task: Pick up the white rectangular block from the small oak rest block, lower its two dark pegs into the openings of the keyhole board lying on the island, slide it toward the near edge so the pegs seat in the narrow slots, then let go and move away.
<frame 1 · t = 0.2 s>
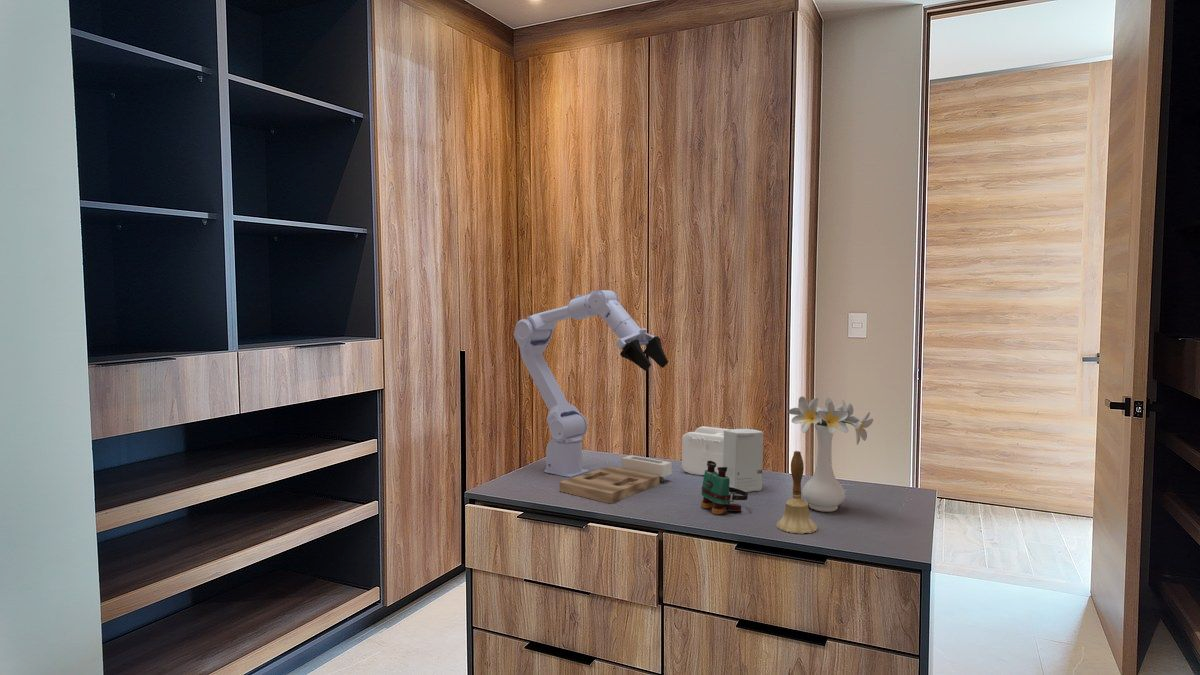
hand: (657, 366, 172), 31 cm above the table, tool tilted 45°, fingers open, 7 cm apart
keyhole board: (610, 488, 175), on the table
white rectangular block: (646, 478, 184), resting on rest block
flower vase: (826, 508, 160), on the table
hand bell: (796, 528, 147), on the table
binoculars: (723, 509, 159), on the table
white rounded box: (713, 474, 190), on the table
skincare box: (742, 490, 175), on the table
rest block: (646, 479, 184), on the table
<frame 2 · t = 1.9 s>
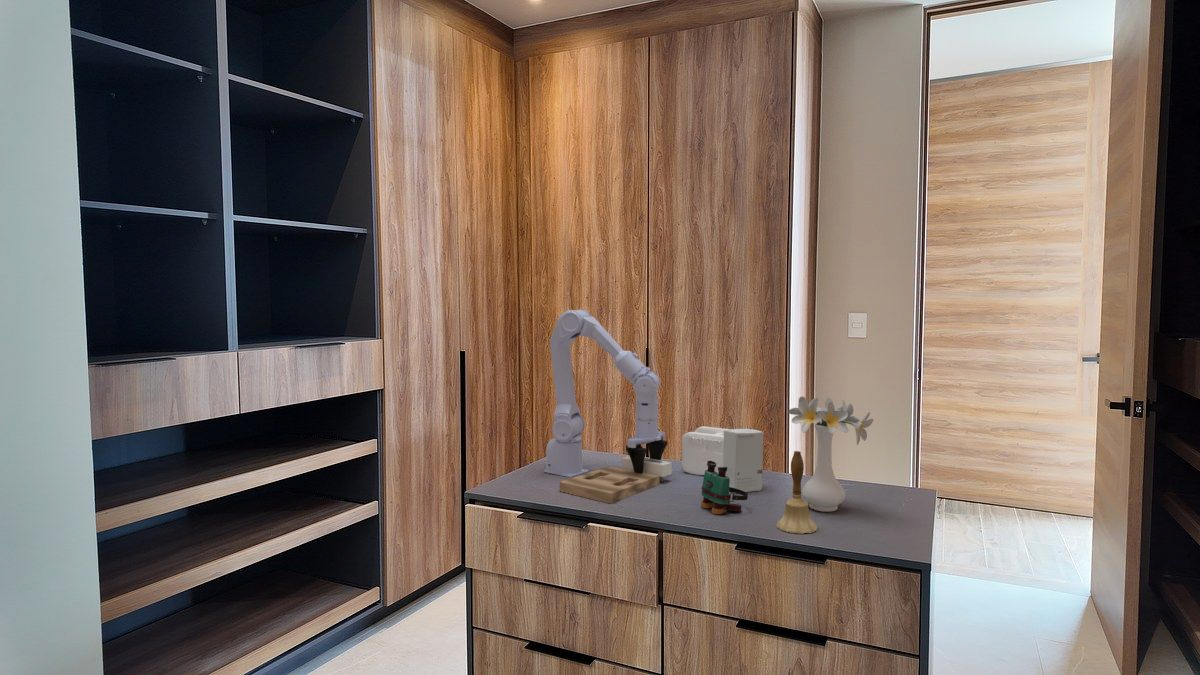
hand: (646, 470, 184), 2 cm above the table, tool pointing down, fingers open, 7 cm apart
nothing on the table moved.
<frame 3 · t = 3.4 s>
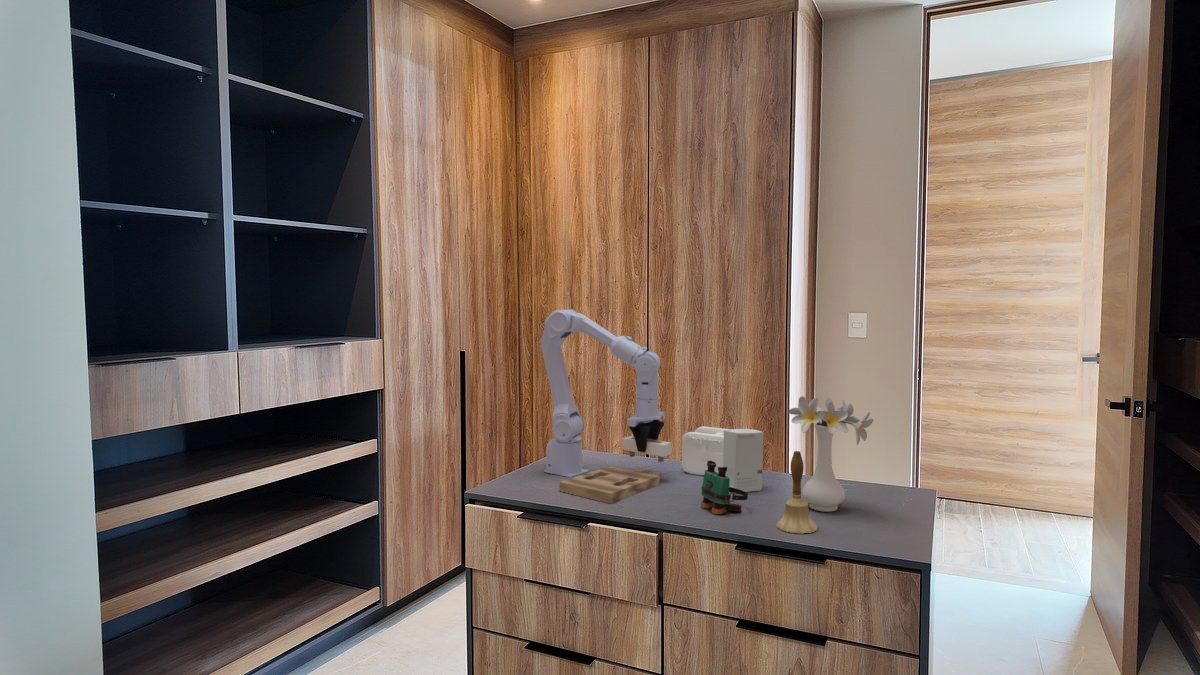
hand: (646, 450, 184), 8 cm above the table, tool pointing down, fingers closed on white rectangular block, 4 cm apart
white rectangular block: (646, 458, 184), point 5 cm above the table, touching gripper
everything else where it was.
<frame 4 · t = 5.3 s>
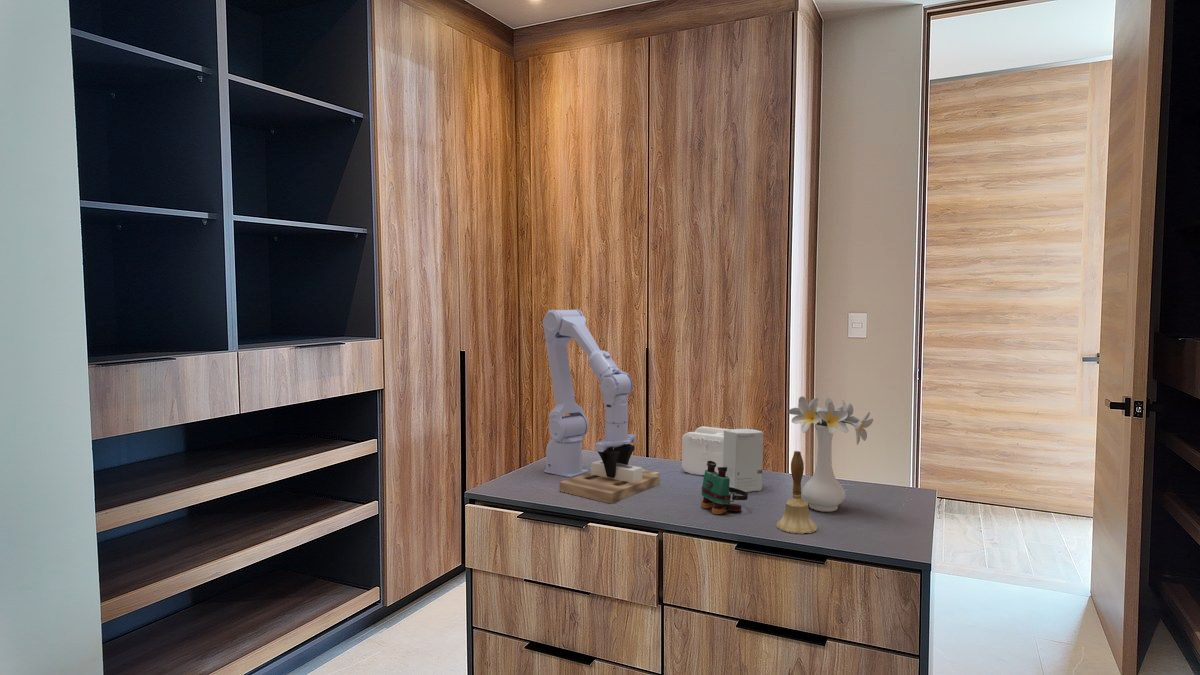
hand: (616, 475, 177), 3 cm above the table, tool pointing down, fingers closed on white rectangular block, 4 cm apart
white rectangular block: (616, 483, 177), point 1 cm above the table, touching gripper, keyhole board
everything else where it was.
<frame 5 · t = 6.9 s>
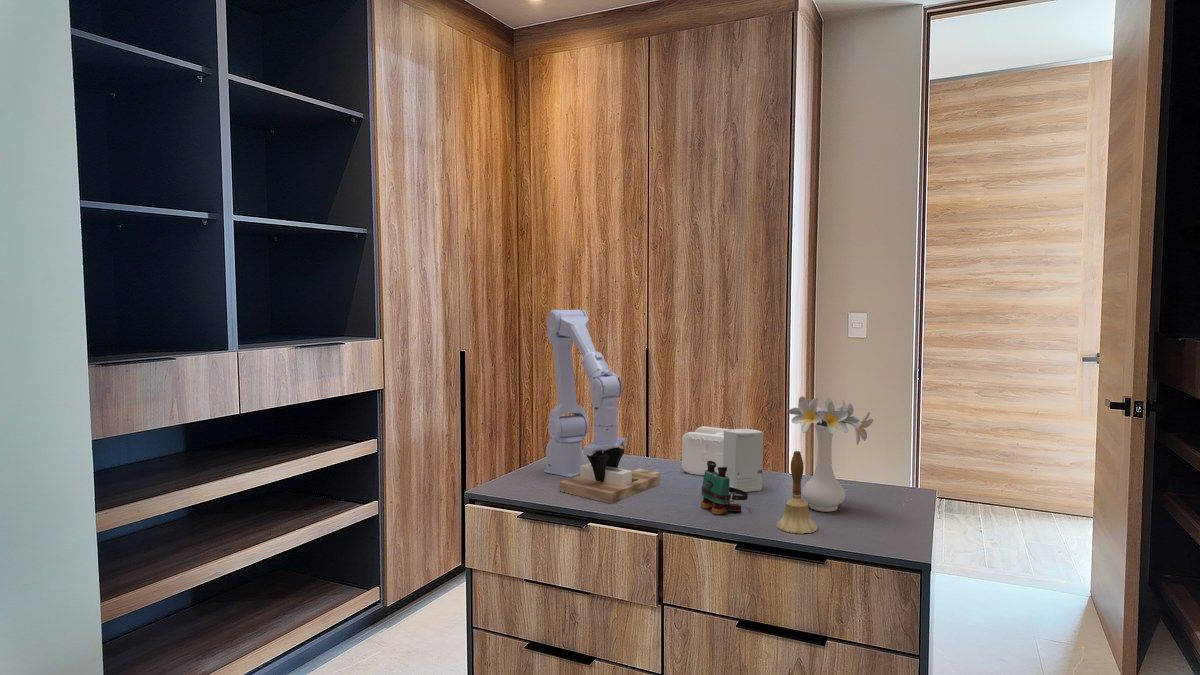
hand: (605, 479, 174), 3 cm above the table, tool pointing down, fingers closed on white rectangular block, 4 cm apart
white rectangular block: (605, 487, 174), point 1 cm above the table, touching gripper, keyhole board
everything else where it was.
when the fingers open (3 cm above the table, at t = 7.5 s): white rectangular block stays where it is, resting on keyhole board.
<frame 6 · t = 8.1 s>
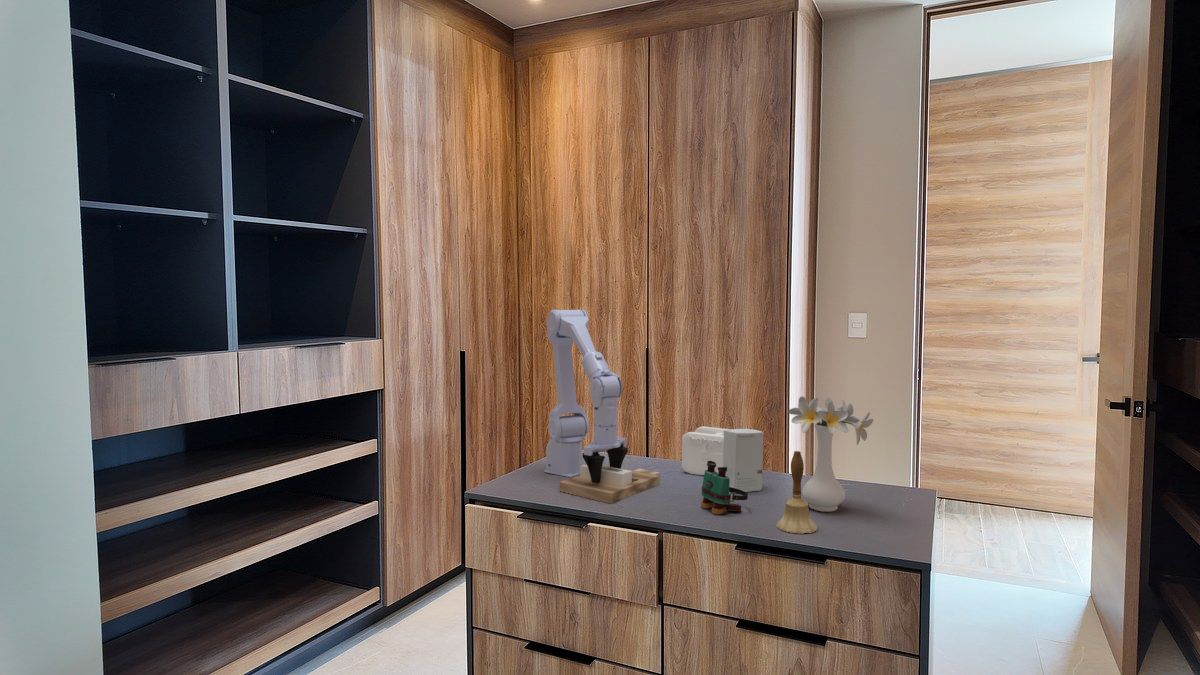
hand: (605, 479, 174), 3 cm above the table, tool pointing down, fingers open, 7 cm apart
white rectangular block: (605, 487, 174), point 1 cm above the table, touching keyhole board
everything else where it was.
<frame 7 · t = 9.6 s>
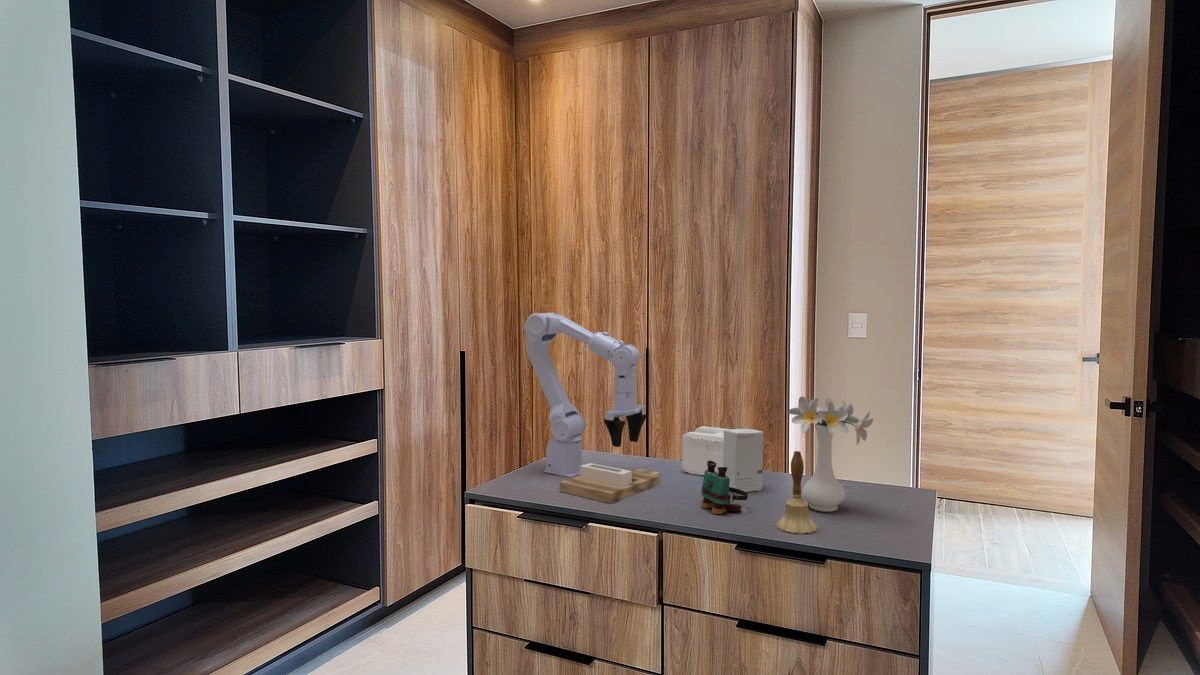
hand: (625, 443, 183), 9 cm above the table, tool pointing down, fingers open, 7 cm apart
nothing on the table moved.
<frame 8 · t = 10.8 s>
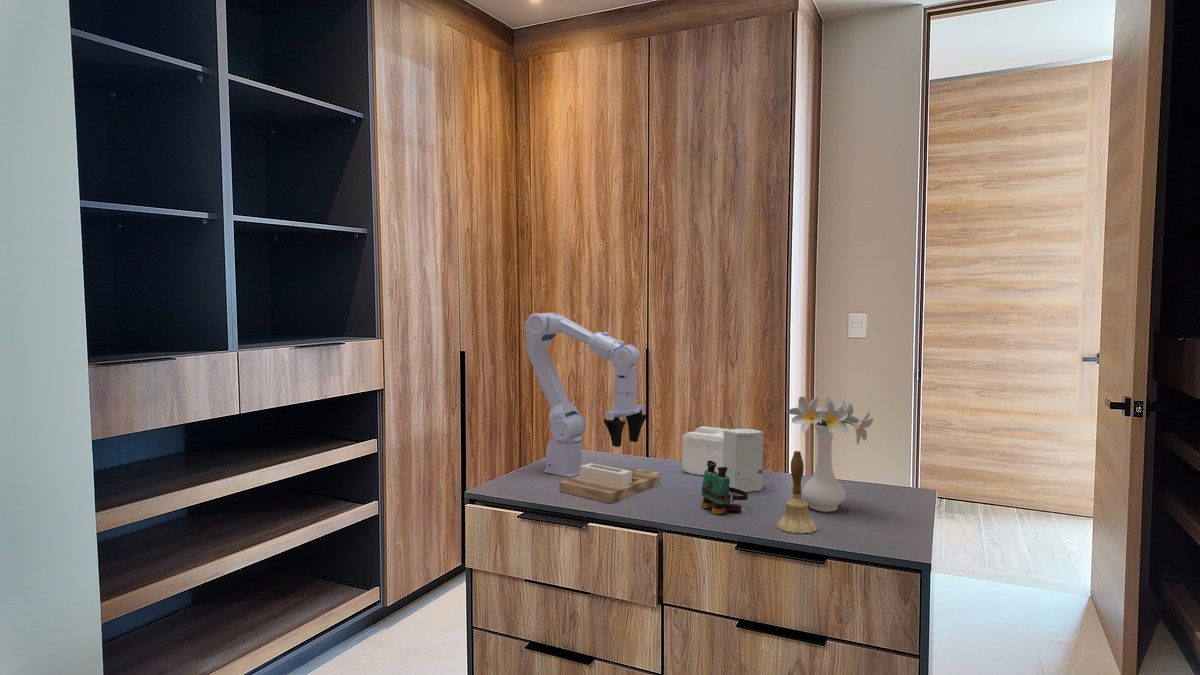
hand: (625, 443, 183), 9 cm above the table, tool pointing down, fingers open, 7 cm apart
nothing on the table moved.
at the end: white rectangular block 0.4 cm from the target spot on the keyhole board, point 0.6 cm above the keyhole board's base; white rectangular block tilted 0°; the gripper is holding nothing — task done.
